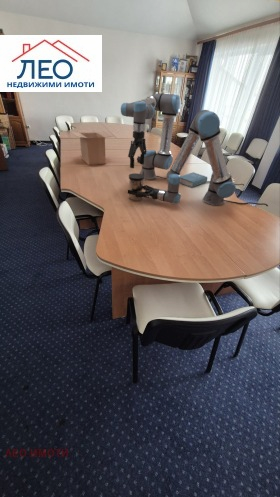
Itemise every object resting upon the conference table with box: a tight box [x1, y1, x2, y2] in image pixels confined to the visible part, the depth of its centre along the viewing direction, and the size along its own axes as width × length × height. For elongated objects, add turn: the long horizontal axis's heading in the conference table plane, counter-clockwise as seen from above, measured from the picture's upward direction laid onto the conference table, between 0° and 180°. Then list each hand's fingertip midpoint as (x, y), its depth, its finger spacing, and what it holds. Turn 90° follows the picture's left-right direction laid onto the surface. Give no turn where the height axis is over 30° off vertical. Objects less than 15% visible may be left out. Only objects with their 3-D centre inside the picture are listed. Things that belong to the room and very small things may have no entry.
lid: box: [128, 172, 145, 181], centre depth 157 cm, size 11×11×2 cm
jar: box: [128, 179, 144, 202], centre depth 162 cm, size 10×10×16 cm
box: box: [70, 129, 114, 166], centre depth 229 cm, size 44×36×27 cm
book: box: [180, 171, 208, 188], centre depth 200 cm, size 23×16×5 cm
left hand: (137, 165), depth 153 cm, fingers open, 12 cm apart
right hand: (131, 188), depth 164 cm, fingers open, 12 cm apart
